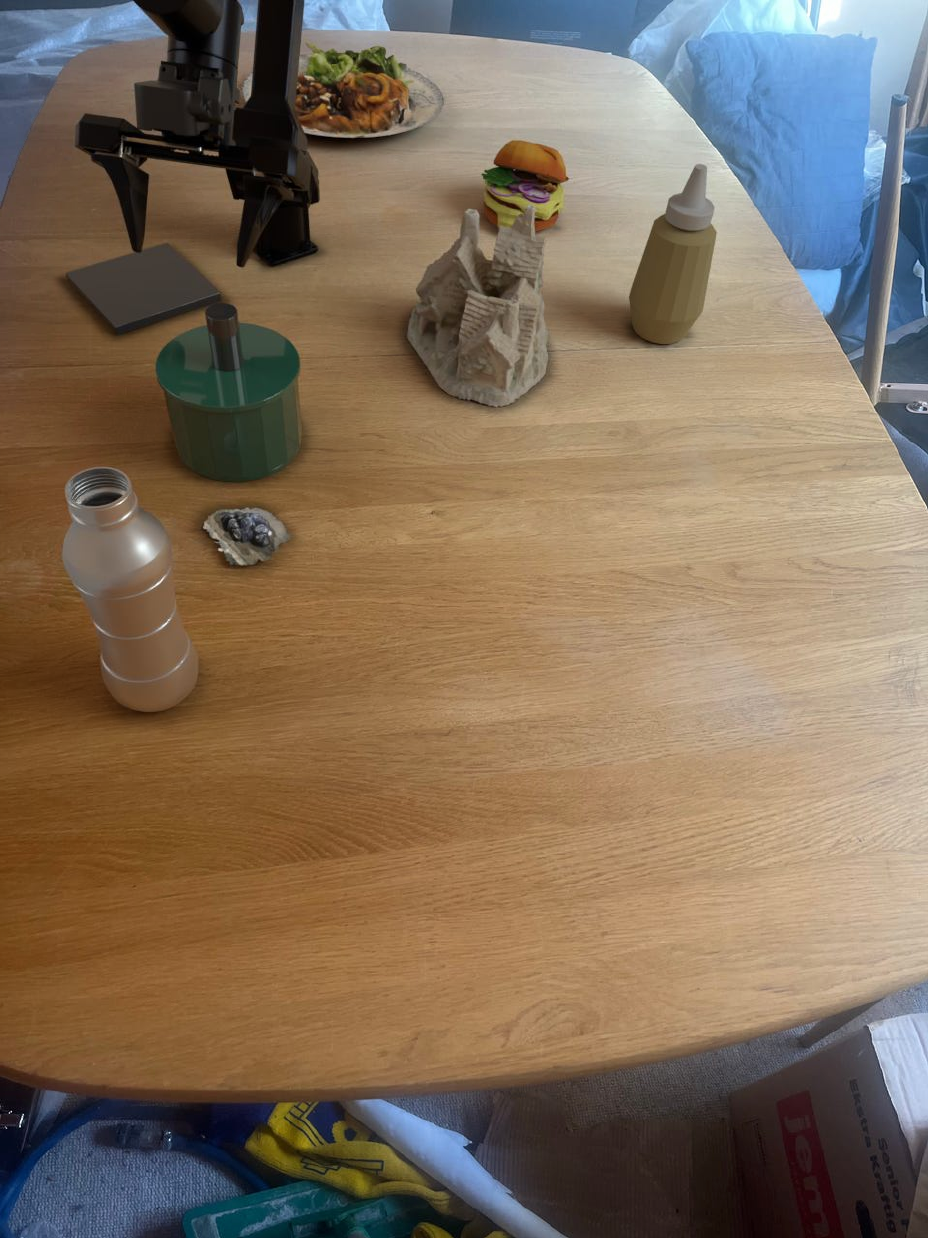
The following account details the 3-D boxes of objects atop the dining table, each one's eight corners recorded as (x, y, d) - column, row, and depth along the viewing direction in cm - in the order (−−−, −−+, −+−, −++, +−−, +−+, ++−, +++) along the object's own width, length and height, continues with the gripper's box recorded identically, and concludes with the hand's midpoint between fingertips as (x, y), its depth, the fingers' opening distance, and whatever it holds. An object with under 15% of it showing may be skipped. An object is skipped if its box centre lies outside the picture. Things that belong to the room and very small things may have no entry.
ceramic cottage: (436, 291, 107) (444, 161, 95) (571, 342, 104) (597, 214, 91) (366, 371, 98) (365, 239, 86) (510, 429, 95) (531, 301, 83)
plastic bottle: (116, 653, 73) (47, 450, 57) (207, 651, 73) (163, 450, 58) (103, 725, 69) (24, 527, 53) (200, 722, 69) (150, 525, 54)
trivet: (168, 250, 109) (167, 242, 108) (221, 300, 103) (220, 292, 103) (67, 280, 104) (64, 272, 103) (117, 335, 98) (115, 327, 97)
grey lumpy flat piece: (253, 581, 78) (251, 565, 77) (179, 540, 81) (175, 523, 79) (305, 533, 82) (304, 517, 81) (232, 495, 85) (230, 479, 83)
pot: (188, 398, 93) (174, 326, 86) (307, 405, 93) (302, 333, 87) (165, 479, 85) (148, 406, 79) (294, 485, 86) (288, 413, 80)
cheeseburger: (464, 226, 117) (477, 137, 111) (493, 210, 125) (506, 126, 119) (543, 246, 115) (560, 156, 109) (567, 228, 123) (584, 143, 117)
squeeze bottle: (703, 322, 107) (752, 161, 93) (683, 360, 102) (731, 195, 88) (635, 301, 109) (673, 139, 95) (612, 337, 104) (648, 172, 90)
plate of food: (360, 54, 148) (360, 9, 143) (483, 121, 136) (487, 75, 131) (204, 96, 135) (198, 48, 130) (325, 174, 123) (323, 125, 118)
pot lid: (171, 329, 87) (160, 266, 82) (307, 337, 88) (303, 275, 83) (144, 414, 79) (129, 351, 75) (293, 422, 80) (287, 359, 75)
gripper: (46, 9, 72) (37, 227, 76) (288, 41, 72) (269, 260, 75) (109, 61, 83) (99, 250, 87) (320, 89, 83) (301, 278, 86)
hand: (188, 259), depth 83 cm, fingers open, 9 cm apart
